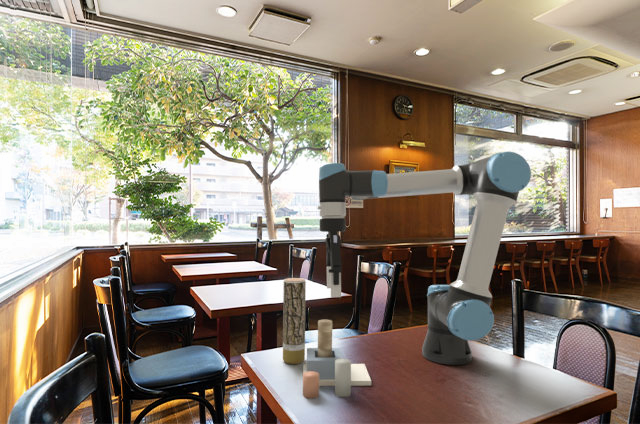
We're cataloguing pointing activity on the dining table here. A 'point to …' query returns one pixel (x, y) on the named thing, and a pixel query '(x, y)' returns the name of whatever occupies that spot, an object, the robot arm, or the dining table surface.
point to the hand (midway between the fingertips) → (333, 292)
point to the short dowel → (311, 384)
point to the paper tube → (294, 320)
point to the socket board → (355, 376)
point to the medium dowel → (342, 377)
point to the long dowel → (324, 339)
